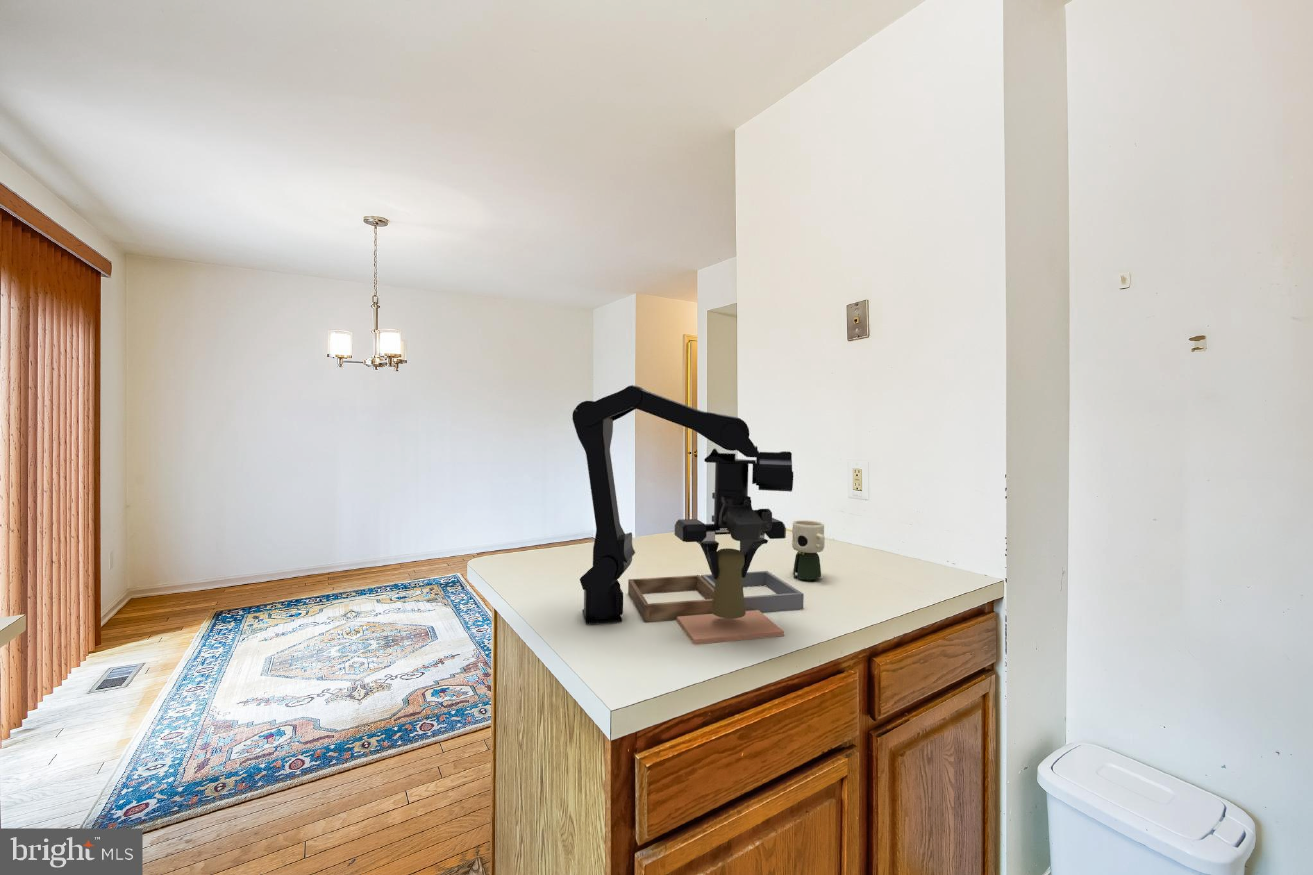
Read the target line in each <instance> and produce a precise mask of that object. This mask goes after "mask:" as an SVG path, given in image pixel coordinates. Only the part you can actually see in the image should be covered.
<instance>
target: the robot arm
mask: <svg viewBox="0 0 1313 875" xmlns="http://www.w3.org/2000/svg"><path fill="white" fill-rule="evenodd" d="M636 410H639V411H642V412H644V413H646V414H647V413H648V414H649V415H652V416H655V417H658V418H660V419H662V420H666V421H668V422H671V423H674V424H676V425H680V426H681V427H685V428H686V429H689V430H692V431H694V432H696V433H697V434H699V435H700V436H702V437H704V438H705V439H707V440H708V441H710V442H711V443H714V444H715V445H716V446H719V447H720V448H721V449H724V450H726V451H731V452H732V453H728V452H719V450H717V448H713V449H712V450H711V452H710V454H709V455H707V456H706V457H705V458H704V459H703V460H704V462H705V463H713V464H714V465H715V468H714V470H715V471H714V492H712V496H711V497H712V499H713V500H714V508H713V515H711V522H712V523H704V522H702V521H701V520H699V519H698V518H690V519H689V518H688V519H687V518H685V519H684V518H683V519H679V518H678V520H677V521H676V523H675V524H674V536H675V537H676V538H678V539H679V540H681V541H682V542H684V543H697V544H699V545H700V547H701V549H702V551H703V553H704V556H705V557H704V558H705V559H706V562H707V566H708V567H709V571H710V574H712V577H713V578H714V579H717V574H718V566H717V551H718V550H719V545H720V542H718V541H716V536H717V535H719V536H720V535H730V538H731V539H732V540H733V541H736V542H739V551H741V552H742V553H743V555H744V558H745V563H744V566H743V567H742V569H741V574H742V578H745V576H746V574H747V572H749V568H750V566H751V563H752V561H753V558H754V556H755V554H756V552H757V551H758V549H759V548H760V547H761V546H763V545H766V544H768V542H769V540H768V539H766V538H765V535H766V537H767V538H769V539H770V540H774V539H775V540H776V539H777V540H778V539H780V540H781V539H786V538H787V537H786V536H787V535H786V534H787V528H786V525H785V523H784V522H783V521H781V520H779V519H777V518H774V517H773V512H772V510H771V509H770V508H758V509H753V507H752V500H751V499H752V497H751V496H749V467H750V466H749V465H752V469H751V470H752V474H751V475H752V476H751V484H752V485H755V486H758V491H770V492H771V491H772V492H790V493H791V492H793V489H794V488H793V486H794V471H793V461H792V460H793V458H792V457H793V453H792V452H791V451H789V450H788V451H785V450H784V451H776V452H775V451H759V450H758V449H759V447H758V445H755V444H754V442H753V441H752V440H751V438H750V428H749V426H748V424H747V423H746V421H744V420H743V419H741V418H740V417H738V416H737V417H736V416H732V415H726V414H720V413H715V412H708V411H703V410H700V409H698V408H694V407H692V406H690V405H686V404H683V403H681V402H679V401H676V400H673V399H669V398H668V397H665V396H662V395H659V394H657V393H653V392H651V391H649V390H646V389H644V388H643V387H641V386H638V385H634V384H631V385H628V386H625V388H623V389H622V390H619V391H617V392H615V393H612V394H608V395H606V396H604V397H601V398H599V399H597V400H585V401H581V402H580V403H579V404H577V405H576V407H575V408H574V410H573V411H572V419H571V420H572V422H573V426H574V429H575V431H576V435H577V438H578V440H579V442H580V444H581V445H582V447H583V449H584V452H585V457H586V464H587V470H588V478H589V484H590V494H591V499H592V500H591V501H592V507H593V515H594V522H595V528H596V529H595V537H594V543H593V546H592V566H591V568H590V569H588V570H587V571H586V572H585V573H584V574H583V575H582V576H581V577H580V578H579V583H580V585H581V587H582V590H583V609H582V615H583V616H582V617H583V619H584V620H583V621H584V622H585V624H586V625H599V624H610V623H620V622H621V623H622V621H623V618H622V615H623V614H624V592H623V590H622V588H621V583H620V582H619V580H618V579H620V578H621V576H622V575H624V573H625V571H627V570H628V568H629V566H631V564H632V562H633V556H634V555H635V554H636V550H635V549H634V547H633V546H634V545H633V533H632V532H627V533H625V531H624V529H623V527H622V525H621V522H620V514H619V506H618V500H617V492H616V485H615V477H614V470H613V462H612V455H611V444H612V438H613V432H614V430H613V429H614V421H616V420H618V419H620V418H623V417H625V416H626V415H628V414H629V413H632V412H633V411H636ZM733 451H738V452H739V453H741V455H743V456H744V457H746V458H755V459H745V458H744V459H743V458H742V459H741V458H736V453H733Z"/></svg>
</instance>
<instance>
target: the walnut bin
mask: <svg viewBox="0 0 1313 875" xmlns="http://www.w3.org/2000/svg"><path fill="white" fill-rule="evenodd" d="M627 581H628V582H627V583H628V584H627V585H628V587H627V588H628V589H627V590H628V591H627V594H628V597H630V599H631V601H632V603H633V604H635V605H634V606H635V608H636V610H637V611H638V613H639V615H640V617H641V619H642V621H643V622H644V623H650V622H651V623H652V622H662V621H663V622H664V621H672V620H673V621H674V620H675V621H677V617H679V616H691V615H703V614H712V613H711V607H712V600H713V594H714V588H713V587H712V586H711V585H710V584H709V583H708V582H707V581H705V580H704V579H703V578H702V577H701V574H696V575H695V574H692V575H691V574H690V575H679V576H678V575H677V576H663V577H661V576H660V577H659V576H658V577H647V578H646V577H643V578H628V580H627ZM691 590H692V591H697V592H698V593H699V594H700V596H702V597H703V598H704V599H697V600H696V599H695V600H682V601H667V602H655V603H654V602H653V603H649V602H648V601H647V600H646V598H645V596H644V595H645V594H646V595H647V594H659V593H661V594H662V593H673V592H678V593H679V592H689V591H691ZM692 591H691V592H692Z"/></svg>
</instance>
